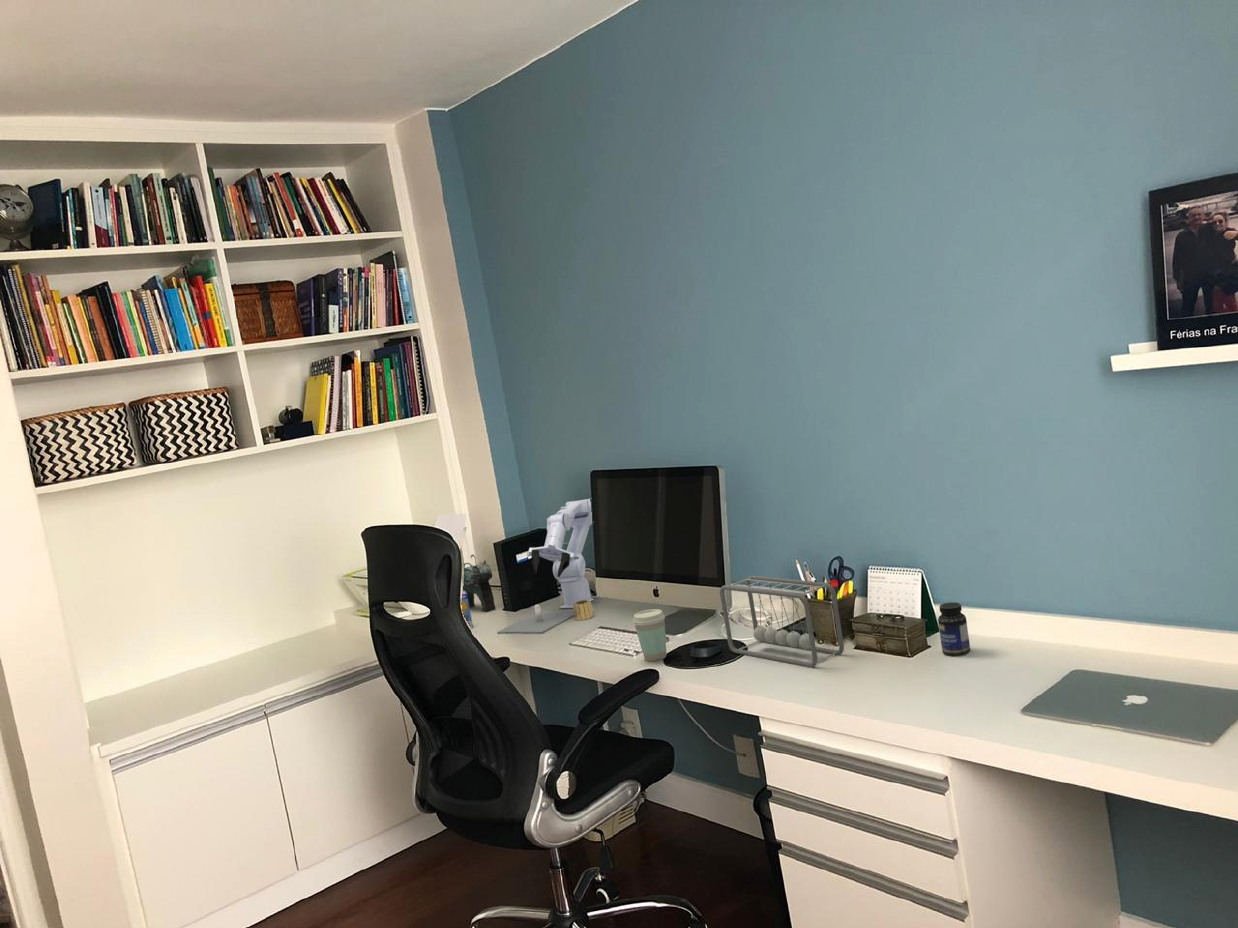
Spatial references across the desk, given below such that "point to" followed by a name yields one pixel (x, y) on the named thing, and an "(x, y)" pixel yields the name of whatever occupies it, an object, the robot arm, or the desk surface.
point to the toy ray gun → (479, 585)
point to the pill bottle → (953, 630)
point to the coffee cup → (651, 633)
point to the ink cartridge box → (466, 609)
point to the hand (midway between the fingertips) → (546, 573)
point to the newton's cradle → (782, 635)
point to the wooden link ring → (582, 609)
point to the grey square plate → (538, 622)
